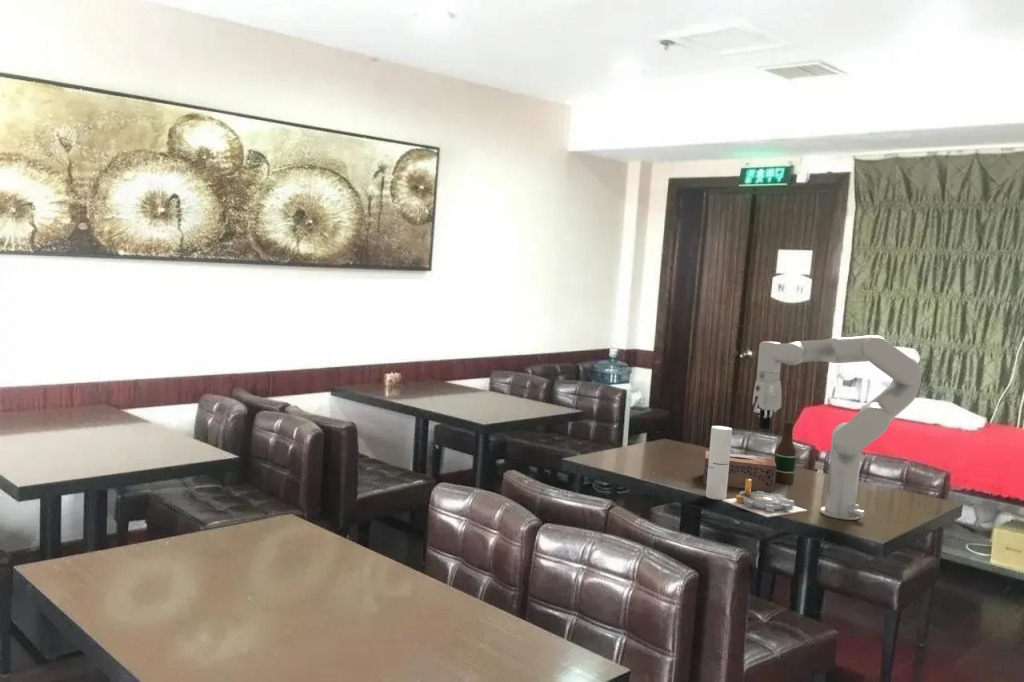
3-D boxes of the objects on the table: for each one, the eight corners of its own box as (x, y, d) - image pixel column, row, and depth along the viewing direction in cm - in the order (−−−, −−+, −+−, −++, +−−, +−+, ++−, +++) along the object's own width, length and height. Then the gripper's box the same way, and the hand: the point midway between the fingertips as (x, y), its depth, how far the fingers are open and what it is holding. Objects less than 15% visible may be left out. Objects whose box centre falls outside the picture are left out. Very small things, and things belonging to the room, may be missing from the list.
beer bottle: (771, 478, 327) (777, 419, 325) (792, 480, 326) (797, 420, 324) (773, 483, 320) (779, 422, 317) (794, 485, 318) (800, 424, 316)
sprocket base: (807, 511, 282) (807, 510, 282) (767, 517, 271) (767, 516, 271) (761, 495, 299) (761, 494, 299) (722, 501, 288) (722, 499, 288)
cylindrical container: (722, 500, 288) (728, 430, 286) (702, 496, 292) (708, 427, 290) (728, 496, 294) (735, 428, 292) (709, 492, 298) (715, 424, 296)
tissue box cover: (771, 483, 320) (773, 458, 319) (773, 492, 306) (776, 466, 305) (703, 475, 326) (705, 450, 325) (703, 483, 312) (705, 458, 311)
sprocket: (786, 498, 293) (788, 476, 293) (799, 514, 274) (801, 490, 274) (731, 493, 295) (733, 472, 295) (740, 508, 276) (742, 485, 276)
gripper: (761, 378, 279) (757, 432, 281) (791, 377, 287) (787, 429, 289) (745, 375, 286) (741, 427, 287) (774, 375, 294) (770, 425, 295)
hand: (764, 428), depth 288 cm, fingers closed
